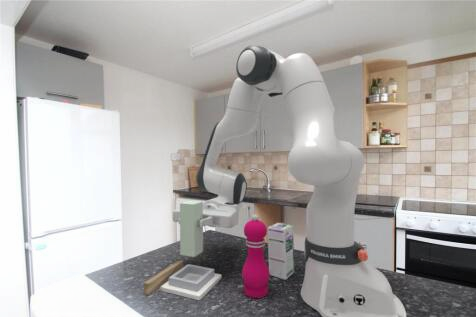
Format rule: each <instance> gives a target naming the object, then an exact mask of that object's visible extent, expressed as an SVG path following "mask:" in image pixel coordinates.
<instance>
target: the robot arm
mask: <svg viewBox="0 0 476 317" xmlns="http://www.w3.org/2000/svg"><path fill="white" fill-rule="evenodd" d="M235 67H236V69H235V70H236V75H237V76H238V77H237V78H236V79H235V80H234V81H233V84H232V87H231V90H230V93H229V97H228V100H227V106H226V110H225V113H224V115H223V117H222V119H221V120H220V121H218V122H216V123H215V125H214V126H213V129H212V131H211V133H210V137H209V140H208V143H207V146H206V149H205V152H204V156H203V158H202V162H201V164H200V166H199V168H198V170H197V172H196V175H195V183H196V186H197V187H198V188H199V190H200V191H201V192H207V193H212V194H215V195H217V197H213V198H211V199H208V200H205V201H204V202H203V219H199V220H197V227H203V228H204V227H210V228H225V229H230V228H234V227H236V226H237V225H238V224H239V214H240V211H241V209H242V207H243V201H244V199H245V197H246V195H247V190H248V184H247V181H246V180H247V179H246V178H245V176H244V174H243V173H242V172H239V171H235V170H230V169H227V168H224V167H221V166H218V165H217V162H218V159H219V156H220V153H221V150H222V149H223V148H222V147H223V145H224V143H226V142H228V140H232V139H236V138H242V137H246V136H248V135H249V134H251V133H253V132H254V130H255V129H256V127H257V125H258V121H259V118H260V117H259V116H260V112H261V106H262V101H263V100H264V98H265V97H266V96H267V95H268V96H269V97H271V98H273V97H276V96H281V95H282V97H283V100H284V102H285V105H286V108H287V112H288V116H289V118H290V122H291V125H292V127H291V128H292V133H293V134H292V135H293V136H292V138H293V142H292V144H293V145H292V148H291V149H290V150H289V154H288V156H287V157H288V158H287V166H288V170H289V173H290V175H291V177H292V178H293V179H295V180H296V181H297V182H299V183H302V184H304V185H309V186H314V188H313V193H312V195H311V198H310V200H309V202H308V203H307V206H306V210H305V211H306V214H305V216H306V218H305V219H306V223H305V224H306V225H305V226H306V236H305V239H304V242H303V243H304V247H303V248H304V261H305V269H304V270H305V271H304V275H303V276H304V278H303V281H302V282H303V283H302V285H301V289H300V296H301V298H302V300H303V301H304V302H305V303H306V305H308V306H310V308H313V309H314V310H316V311H317V312H318V313H319V315H320V316H321V317H407V312H406V309H405V306H404V305H403V303H402V301H401V300H400V298H399V297H397V295H396V294H394V293H393V290H392V286H391V284H390V283H389V280H388V279H387V277H386V276H385V274H384V273H382V272H381V271H380V270H378V269H377V268H376V267H375V266H373V265H372V264H371V263H370V262H369V261H367V260H369V255H368V252H367V251H366V250H365V247H364V246H363V244H361V242H359V243H358V242H357V241H355V208H356V201H357V195H358V190H359V185H360V179H361V178H360V177H361V173H362V171H363V169H364V167H365V157H364V154H363V153H362V150H360V149H359V148H358V147H357V146H356V145H354V144H352V143H351V142H348V141H345V140H339V139H338V137H337V134H336V131H335V130H336V128H335V120H334V119H335V117H336V116H335V115H336V108H335V106H334V103H333V101H332V98H331V96H330V93H329V90H328V88H327V85H326V82H325V80H324V77H323V75H322V74H321V72H320V69H319V68H318V65H316V63H315V61H314V59H313V58H312V57H311V56H310V55H309V54H307V53H304V52H297V53H293V54H291V55H289V56H287V57H286V58H285V57H284V56H282V55H280V54H279V53H277V52H276V51H275V52H274V51H273V50H271V49H267V48H266V47H264V46H260V45H248V46H246V47H245V48H244V49H242V51H241V52H240V53H239V55H238V58H237V59H236V66H235ZM172 222H174V223H178V225H180V207H179V208H175V209H173V210H172Z"/></svg>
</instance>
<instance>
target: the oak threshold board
mask: <svg viewBox="0 0 476 317" xmlns="http://www.w3.org/2000/svg"><path fill="white" fill-rule="evenodd" d="M183 267H185V266H184V260H180V259H178V260H177V261H176V262H174V263H172V264H171V265H169V266H168V267H166V268H165V269H163V270H161V271H160V272H159V273H157V274H155V275H153V276H152V277H150V278H148V280H145V281H144V282H143V295H144V296H150V295H151V294H153V293H154V292H156V291H157V290H158V289H160V287H161V286H162V285H164V284H165V283H166V282H168V281H169V277H170V276H172V275H173V274H175V273H176V272H178V271H179V270H180V269H182V268H183Z"/></svg>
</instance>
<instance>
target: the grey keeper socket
mask: <svg viewBox="0 0 476 317" xmlns="http://www.w3.org/2000/svg"><path fill="white" fill-rule="evenodd" d="M222 278H223V277H222V274H220V273H215V268H210V267H205V266H200V265H195V264H189V263H188V264H186V265H185V266H184V267H183V268H182V269H180V270H179V271H178V272H176V273H175V274H173V275H172V276H170V277H169V281H168V282H166V283H165V284H164V285H162V286H161V287H160V288H159V290H160V291H161V292H164V293H168V294H172V295H177V296H179V297H184V298H189V299H192V300H196V301H200V300H202V299H203V297H204V296H206V295H207V294H208V293H209V291H210V290H212V289H213V287H215V285H217V284H218V282H219V281H220V280H221V279H222Z"/></svg>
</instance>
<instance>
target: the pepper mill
mask: <svg viewBox="0 0 476 317" xmlns="http://www.w3.org/2000/svg"><path fill="white" fill-rule="evenodd" d="M259 218H260V217H259V216H258V214H252V216H251V220H249V221H247V222H246V223H245V225H244V226H243V234H244V236H245V237H246V239H245V245H246V247H247V257H246V260H245V263H244V264H243V267H242V272H241V278H242V280H243V282H244V284H243V292H244V294H245V295H246V296H247V297H250V298H255V299H259V298H263V297H265V296H266V295H267V294H269V284H268V281H270V278H271V275H270V273H269V265H268V263H267V262H266V260H265V255H264V247H265V245H266V239H265V237H266V236H267V235H268V227H267V225H266V224H265V223H264V222H263V221H262V220H259Z"/></svg>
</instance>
